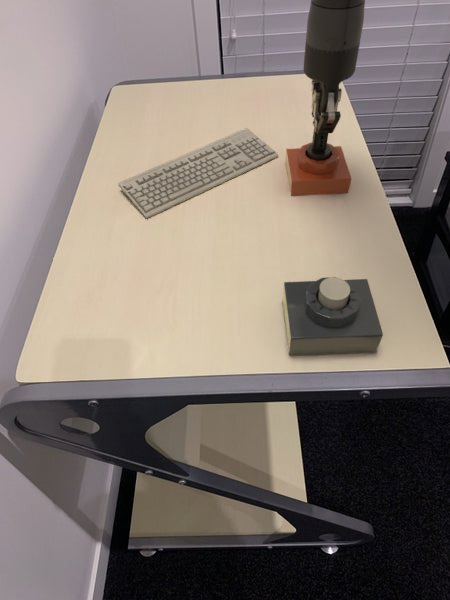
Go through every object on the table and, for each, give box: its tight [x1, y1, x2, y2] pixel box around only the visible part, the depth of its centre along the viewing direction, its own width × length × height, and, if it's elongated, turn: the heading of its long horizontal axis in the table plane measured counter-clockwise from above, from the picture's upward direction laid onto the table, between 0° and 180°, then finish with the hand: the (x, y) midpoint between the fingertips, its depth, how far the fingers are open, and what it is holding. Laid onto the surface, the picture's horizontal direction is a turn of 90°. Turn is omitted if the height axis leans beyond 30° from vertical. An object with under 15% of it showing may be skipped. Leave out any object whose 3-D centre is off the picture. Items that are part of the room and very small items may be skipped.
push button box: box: [282, 276, 384, 356], centre depth 55 cm, size 11×9×6 cm
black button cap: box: [307, 144, 331, 161], centre depth 74 cm, size 4×4×2 cm
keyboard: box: [117, 127, 279, 219], centre depth 80 cm, size 29×10×2 cm, turn 125°
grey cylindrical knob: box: [318, 276, 350, 310], centre depth 52 cm, size 4×4×2 cm
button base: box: [285, 141, 352, 197], centre depth 76 cm, size 10×10×5 cm
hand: (318, 148), depth 74 cm, fingers closed
